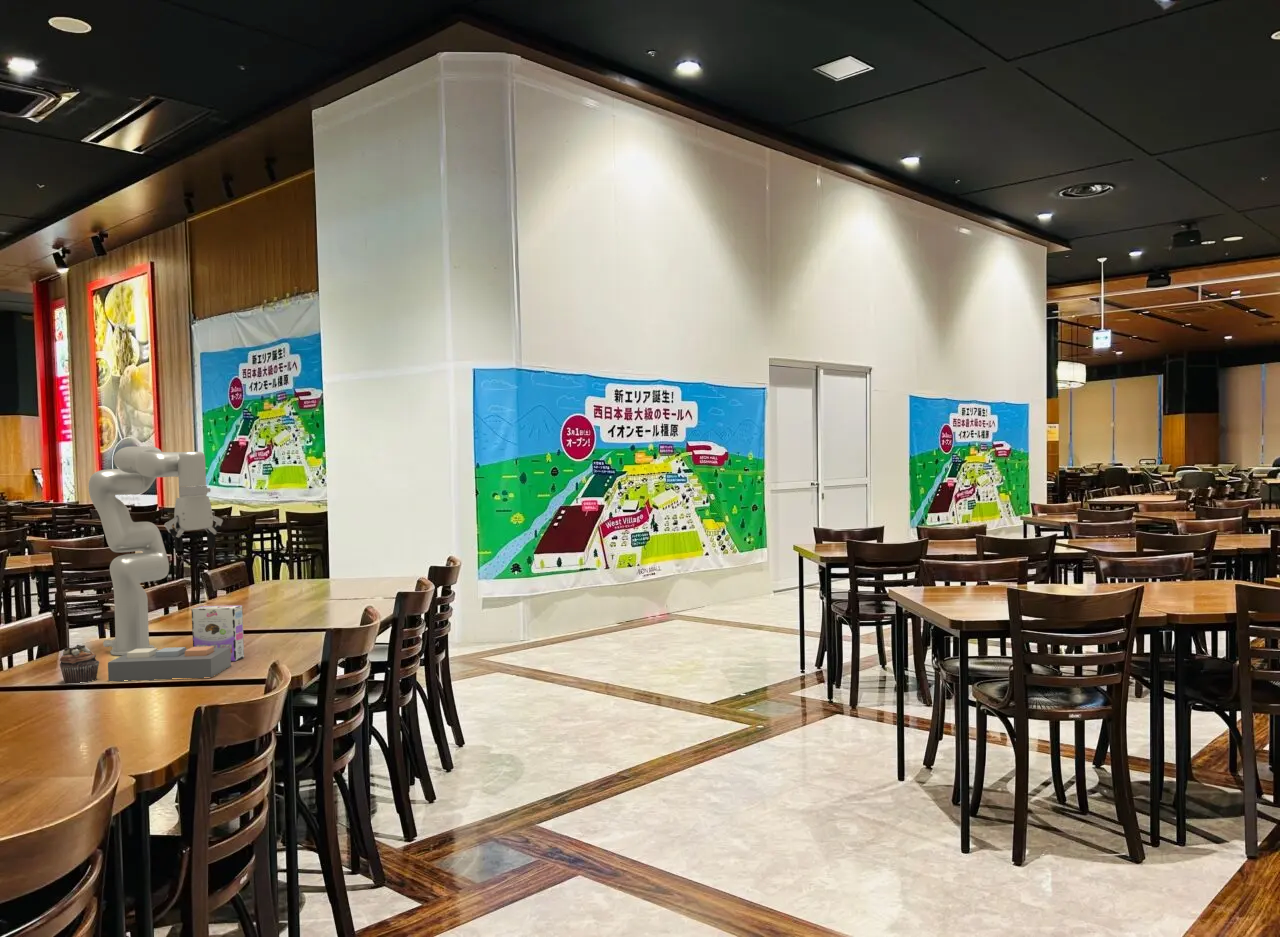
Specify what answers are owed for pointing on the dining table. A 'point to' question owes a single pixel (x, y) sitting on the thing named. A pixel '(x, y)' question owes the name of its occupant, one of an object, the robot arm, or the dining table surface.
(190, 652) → the terracotta key
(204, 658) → the keypad
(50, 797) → the dining table surface
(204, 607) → the candy box
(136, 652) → the cream key
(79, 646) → the cupcake
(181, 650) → the slate key
